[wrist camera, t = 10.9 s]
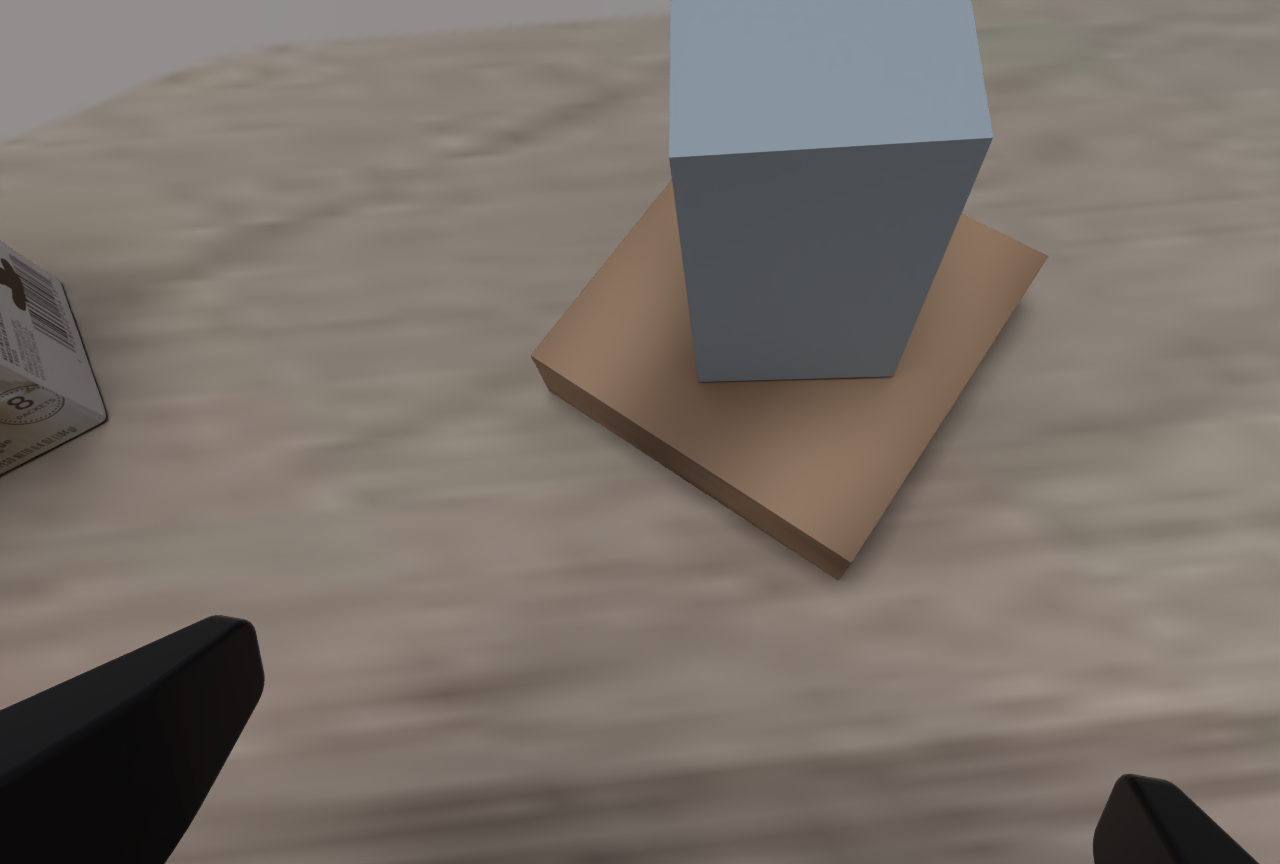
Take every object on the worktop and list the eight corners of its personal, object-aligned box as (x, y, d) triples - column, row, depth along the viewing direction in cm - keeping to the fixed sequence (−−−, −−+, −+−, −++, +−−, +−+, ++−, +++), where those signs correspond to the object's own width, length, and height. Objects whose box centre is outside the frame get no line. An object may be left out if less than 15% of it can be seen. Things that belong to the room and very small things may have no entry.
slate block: (877, 211, 23) (956, -95, 14) (893, 376, 21) (992, 137, 13) (697, 220, 23) (671, -69, 15) (698, 381, 22) (669, 157, 13)
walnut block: (1011, 309, 25) (1048, 256, 22) (836, 583, 22) (851, 563, 20) (733, 165, 27) (734, 101, 25) (552, 396, 25) (530, 355, 22)
